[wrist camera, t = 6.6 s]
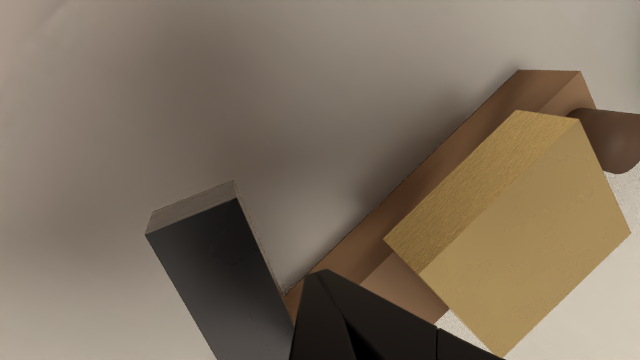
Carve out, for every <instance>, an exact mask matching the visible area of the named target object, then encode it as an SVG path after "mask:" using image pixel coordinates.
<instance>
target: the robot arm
mask: <svg viewBox="0 0 640 360" xmlns="http://www.w3.org/2000/svg"><path fill="white" fill-rule="evenodd" d="M288 360H505V359H503V358H501V357H498V356H496V355H494V354H492V353H489V352H487V351H485V350H483V349H480V348H478V347H476V346H474V345H472V344H470V343H468V342H466V341H464V340H462V339H460V338H458V337H456V336H454V335H453V334H451V333H449V332H447V331H445V330H443V329H441V328H437V326H435V325H433V324H431V323H430V322H428V321H426V320H424V319H422V318H420V317H418V316H416V315H415V314H413V313H411V312H409V311H407V310H405V309H403V308H401V307H399V306H398V305H396V304H394V303H392V302H390V301H388V300H386V299H384V298H382V297H381V296H379V295H377V294H375V293H373V292H371V291H369V290H367V289H366V288H364V287H362V286H360V285H358V284H356V283H354V282H352V281H350V280H349V279H347V278H345V277H343V276H341V275H339V274H337V273H335V272H333V271H332V270H330V269H327V268H325V269H322V270H319V271H316V272H312V273H309V274H306V275H305V276H304V279H303V284H302V289H301V295H300V300H299V305H298V311H297V316H296V321H295V327H294V332H293V337H292V343H291V348H290V353H289V359H288Z"/></svg>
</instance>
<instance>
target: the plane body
mask: <svg viewBox="0 0 640 360" xmlns="http://www.w3.org/2000/svg"><path fill="white" fill-rule="evenodd" d="M515 110H521V111H528V112H535V113H541V114H548V115H555V116H561V117H568V118H575V119H579V120H580V122H581V125H582V127H583V129H584V131H585V133H586V135H587V138H588V140H589V142H590V144H591V146H592V149H593V151H594V153H595V155H596V157H597V159H598V162H599V164H600V166H601V168H602V170H603V171H606V172H610V173H614V174H622V173H625V172H627V171H629V170H630V169H632V168H633V167H634V166H635V165H636V164H637V163H638V162H639V161H640V114H632V113H624V112H615V111H607V110H598V109H596V107H595V104H594V102H593V100H592V97H591V95H590V93H589V90H588V88H587V85H586V83H585V81H584V78H583V76H582V74H581V71H553V70H518V71H517V72H516V73H515V74H514V75H513V76H512V77H511V78H510V79H509V80H508V81H507V82H506V83H505V84H504V85H503V86H501V87H500V88H499V89H498V90H497V91H496V92H495V93H494V94H493V95H492V96H491V97H490V98H489V99H488V100H487V101H486V102H485V103H484V104H483V105H482V106H481V107H480V108H479V109H478V110H477V111H476V112H475V113H474V114H473V115H471V116H470V117H469V118H468V119H467V120H466V121H465V122H464V123H463V124H462V125H461V126H460V127H459V128H458V129H457V130H456V131H455V132H454V133H453V134H452V135H451V136H450V137H449V138H448V139H447V140H446V141H445V142H444V143H443V144H441V145H440V146H439V147H438V148H437V149H436V150H435V151H434V152H433V153H432V154H431V155H430V156H429V157H428V158H427V159H426V160H425V161H424V162H423V163H422V164H421V165H420V166H419V167H418V168H417V169H416V170H415V171H414V172H413V173H411V174H410V175H409V176H408V177H407V178H406V179H405V180H404V181H403V182H402V183H401V184H400V185H399V186H398V187H397V188H396V189H395V190H394V191H393V192H392V193H391V194H390V195H389V196H388V197H387V198H386V199H385V200H384V201H383V202H381V203H380V204H379V205H378V206H377V207H376V208H375V209H374V210H373V211H372V212H371V213H370V214H369V215H368V216H367V217H366V218H365V219H364V220H363V221H362V222H361V223H360V224H359V225H358V226H357V227H356V228H355V229H354V230H353V231H351V232H350V233H349V234H348V235H347V236H346V237H345V238H344V239H343V240H342V241H341V242H340V243H339V244H338V245H337V246H336V247H335V248H334V249H333V250H332V251H331V252H330V253H329V254H328V255H327V256H326V257H325V258H324V259H323V260H321V261H320V262H319V263H318V264H317V265H316V266H315V267H314V268H313V269H312V270H311V271H310V272H309V273H312V272H316V271H319V270H322V269H325V268H327V269H330V270H332V271H333V272H335V273H337V274H339V275H341V276H343V277H345V278H347V279H349V280H350V281H352V282H354V283H356V284H358V285H360V286H362V287H364V288H366V289H367V290H369V291H371V292H373V293H375V294H377V295H379V296H381V297H382V298H384V299H386V300H388V301H390V302H392V303H394V304H396V305H398V306H399V307H401V308H403V309H405V310H407V311H409V312H411V313H413V314H415V315H416V316H418V317H420V318H422V319H424V320H426V321H428V322H430V323H431V324H434V323H435V322H437V321H438V320H439V319H440V318H441V317H442V316H443V315H444V314H445V313H446V312H447V311H448V310H449V308H448V307H447V306H446V305H445V304H444V303H443V302H442V301H441V300H440V299H439V298H438V297H437V296H436V295H435V293H434V292H433V291H432V290H431V289H430V288H429V287H428V286H427V285H426V284H425V283H424V282H423V281H422V280H421V279H420V278H419V277H418V276H417V275H416V273H415V272H414V271H413V270H412V269H411V268H410V267H409V266H408V265H407V264H406V263H405V262H404V261H403V260H402V259H401V258H400V257H399V256H398V255H397V254H396V252H395V251H394V250H393V249H392V248H391V247H390V246H389V245H388V244H387V243H386V242H385V241H384V240H383V238H384V237H385V236H386V235H387V234H388V233H389V232H390V231H391V230H392V229H393V228H394V227H395V226H397V225H398V224H399V223H400V222H401V221H402V220H403V219H404V218H405V217H406V216H407V215H408V214H409V213H410V212H411V211H412V210H413V209H414V208H415V207H416V206H417V205H418V204H419V203H420V202H421V201H422V200H423V199H424V198H425V197H426V196H428V195H429V194H430V193H431V192H432V191H433V190H434V189H435V188H436V187H437V186H438V185H439V184H440V183H441V182H442V181H443V180H444V179H445V178H446V177H447V176H448V175H449V174H450V173H451V172H452V171H453V170H454V169H455V168H456V167H458V166H459V165H460V164H461V163H462V162H463V161H464V160H465V159H466V158H467V157H468V156H469V155H470V154H471V153H472V152H473V151H474V150H475V149H476V148H477V147H478V146H479V145H480V144H481V143H482V142H483V141H484V140H485V139H486V138H488V137H489V136H490V135H491V134H492V133H493V132H494V131H495V130H496V129H497V128H498V127H499V126H500V125H501V124H502V123H503V122H504V121H505V120H506V119H507V118H508V117H509V116H510V115H511V114H512V113H513V112H514V111H515ZM309 273H308V274H309ZM303 279H304V278H303ZM303 279H302V280H301V281H300V282H299V283H298V284H297V285H296V286H295V287H294V288H293V289H291V290H290V291H289V292H288V293H287V294H286V295H285V296H284V298H285V301H286V303H287V305H288V308H289V310H290V312H291V314H292V317H293V319H294V321H296V316H297V311H298V305H299V300H300V295H301V289H302V284H303Z"/></svg>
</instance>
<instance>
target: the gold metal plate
mask: <svg viewBox="0 0 640 360" xmlns="http://www.w3.org/2000/svg"><path fill="white" fill-rule="evenodd" d="M630 234H631V231H630V229H629V227H628V225H627V223H626V220H625V218H624V216H623V214H622V212H621V210H620V207H619V205H618V203H617V201H616V199H615V196H614V194H613V192H612V190H611V188H610V186H609V183H608V181H607V179H606V177H605V175H604V173H603V170H602V168H601V166H600V164H599V162H598V159H597V157H596V155H595V153H594V151H593V149H592V146H591V144H590V142H589V140H588V138H587V135H586V133H585V131H584V129H583V127H582V125H581V122H580V120H579V119H575V118H568V117H561V116H555V115H548V114H541V113H535V112H528V111H521V110H515V111H514V112H513V113H512V114H511V115H510V116H509V117H508V118H507V119H506V120H505V121H504V122H503V123H502V124H501V125H500V126H499V127H498V128H497V129H496V130H495V131H494V132H493V133H492V134H491V135H490V136H489V137H488V138H486V139H485V140H484V141H483V142H482V143H481V144H480V145H479V146H478V147H477V148H476V149H475V150H474V151H473V152H472V153H471V154H470V155H469V156H468V157H467V158H466V159H465V160H464V161H463V162H462V163H461V164H460V165H459V166H458V167H456V168H455V169H454V170H453V171H452V172H451V173H450V174H449V175H448V176H447V177H446V178H445V179H444V180H443V181H442V182H441V183H440V184H439V185H438V186H437V187H436V188H435V189H434V190H433V191H432V192H431V193H430V194H429V195H428V196H426V197H425V198H424V199H423V200H422V201H421V202H420V203H419V204H418V205H417V206H416V207H415V208H414V209H413V210H412V211H411V212H410V213H409V214H408V215H407V216H406V217H405V218H404V219H403V220H402V221H401V222H400V223H399V224H398V225H397V226H395V227H394V228H393V229H392V230H391V231H390V232H389V233H388V234H387V235H386V236H385V237H384V238H383V240H384V241H385V242H386V243H387V244H388V245H389V246H390V247H391V248H392V249H393V250H394V251H395V252H396V254H397V255H398V256H399V257H400V258H401V259H402V260H403V261H404V262H405V263H406V264H407V265H408V266H409V267H410V268H411V269H412V270H413V271H414V272H415V273H416V275H417V276H418V277H419V278H420V279H421V280H422V281H423V282H424V283H425V284H426V285H427V286H428V287H429V288H430V289H431V290H432V291H433V292H434V293H435V295H436V296H437V297H438V298H439V299H440V300H441V301H442V302H443V303H444V304H445V305H446V306H447V307H448V308H449V309H450V310H451V311H452V312H453V313H454V314H455V316H456V317H457V318H458V319H459V320H460V321H461V322H462V323H463V324H464V325H465V326H466V327H467V328H468V329H469V330H470V331H471V332H472V333H473V334H474V335H475V336H476V337H477V338H478V339H479V340H480V341H481V342H482V343H483V344H484V345H485V346H486V347H487V348H488V349H489V350H490V351H491V352H492V353H493V354H494V355H496V356H498V357H501V358H503V357H504V356H505V355H506V354H507V353H508V352H509V351H510V350H511V349H512V348H513V347H514V346H515V345H516V344H517V343H518V342H519V341H520V340H521V339H523V338H524V337H525V336H526V335H527V334H528V333H529V332H530V331H531V330H532V329H533V328H534V327H535V326H536V325H537V324H538V323H539V322H540V321H541V320H542V319H543V318H544V317H545V316H546V315H547V314H548V313H549V312H550V311H551V310H552V309H553V308H554V307H556V306H557V305H558V304H559V303H560V302H561V301H562V300H563V299H564V298H565V297H566V296H567V295H568V294H569V293H570V292H571V291H572V290H573V289H574V288H575V287H576V286H577V285H578V284H579V283H580V282H581V281H582V280H583V279H584V278H585V277H586V276H587V275H589V274H590V273H591V272H592V271H593V270H594V269H595V268H596V267H597V266H598V265H599V264H600V263H601V262H602V261H603V260H604V259H605V258H606V257H607V256H608V255H609V254H610V253H611V252H612V251H613V250H614V249H615V248H616V247H617V246H618V245H619V244H620V243H622V242H623V241H624V240H625V239H626V238H627V237H628V236H629V235H630Z"/></svg>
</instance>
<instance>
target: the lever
mask: <svg viewBox="0 0 640 360" xmlns="http://www.w3.org/2000/svg"><path fill="white" fill-rule="evenodd" d="M145 236H146V238H147V240H148V241H149V243H150V245H151V246H152V248H153V250H154V252H155V253H156V255H157V257H158V259H159V260H160V262H161V264H162V265H163V267H164V269H165V271H166V272H167V274H168V276H169V277H170V279H171V281H172V283H173V284H174V286H175V288H176V290H177V291H178V293H179V295H180V296H181V298H182V300H183V302H184V303H185V305H186V307H187V308H188V310H189V312H190V314H191V315H192V317H193V319H194V321H195V322H196V324H197V326H198V327H199V329H200V331H201V333H202V334H203V336H204V338H205V340H206V341H207V343H208V345H209V346H210V348H211V350H212V352H213V353H214V355H215V357H216V358H217V360H288V359H289V353H290V348H291V343H292V337H293V332H294V327H295V321H294V319H293V317H292V314H291V312H290V310H289V308H288V305H287V303H286V301H285V298H284V296H283V294H282V292H281V289H280V287H279V285H278V282H277V280H276V278H275V275H274V273H273V271H272V269H271V266H270V264H269V262H268V259H267V257H266V255H265V253H264V250H263V248H262V246H261V243H260V241H259V239H258V237H257V234H256V232H255V230H254V227H253V225H252V223H251V221H250V218H249V216H248V214H247V211H246V209H245V207H244V205H243V202H242V200H241V198H240V195H239V193H238V191H237V188H236V186H235V184H234V182H233V180H232V181H230V182H227V183H225V184H222V185H220V186H217V187H215V188H212V189H210V190H207V191H205V192H202V193H199V194H197V195H194V196H192V197H189V198H187V199H184V200H182V201H179V202H177V203H174V204H172V205H169V206H166V207H164V208H161V209H159V210H156V211H154V212H153V213H152V216H151V218H150V221H149V224H148V227H147V230H146V232H145Z"/></svg>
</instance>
